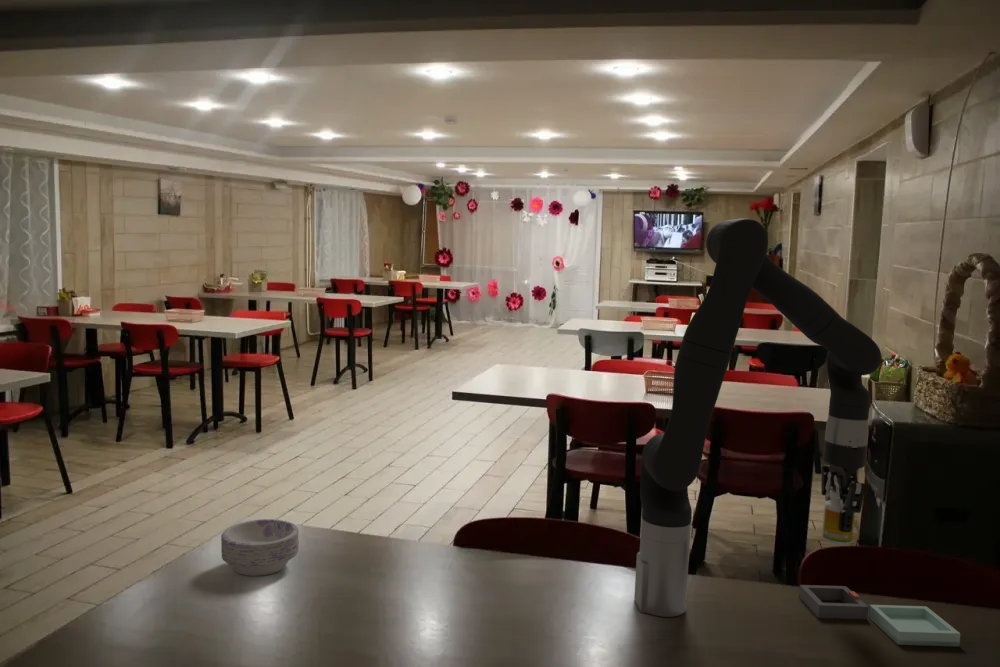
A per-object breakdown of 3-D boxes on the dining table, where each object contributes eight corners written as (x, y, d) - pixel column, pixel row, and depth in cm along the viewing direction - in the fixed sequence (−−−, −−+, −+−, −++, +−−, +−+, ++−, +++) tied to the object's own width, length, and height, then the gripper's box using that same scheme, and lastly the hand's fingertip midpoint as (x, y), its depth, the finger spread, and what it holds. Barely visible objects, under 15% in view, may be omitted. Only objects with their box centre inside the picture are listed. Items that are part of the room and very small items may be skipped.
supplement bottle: (854, 547, 152) (859, 497, 151) (824, 543, 153) (829, 494, 152) (848, 537, 157) (852, 489, 156) (819, 534, 158) (823, 486, 157)
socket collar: (818, 617, 151) (819, 602, 151) (798, 596, 161) (799, 582, 160) (867, 619, 151) (868, 604, 151) (845, 598, 161) (846, 583, 160)
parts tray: (897, 644, 142) (899, 631, 141) (868, 616, 153) (869, 604, 152) (959, 646, 142) (960, 633, 142) (925, 618, 153) (926, 606, 153)
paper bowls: (205, 577, 159) (205, 538, 158) (246, 550, 174) (246, 515, 173) (275, 587, 155) (276, 547, 155) (310, 559, 170) (311, 522, 170)
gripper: (811, 431, 160) (804, 513, 161) (843, 448, 146) (834, 538, 147) (848, 432, 160) (840, 515, 162) (884, 450, 146) (875, 540, 147)
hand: (838, 525), depth 154 cm, fingers closed on supplement bottle, 5 cm apart
